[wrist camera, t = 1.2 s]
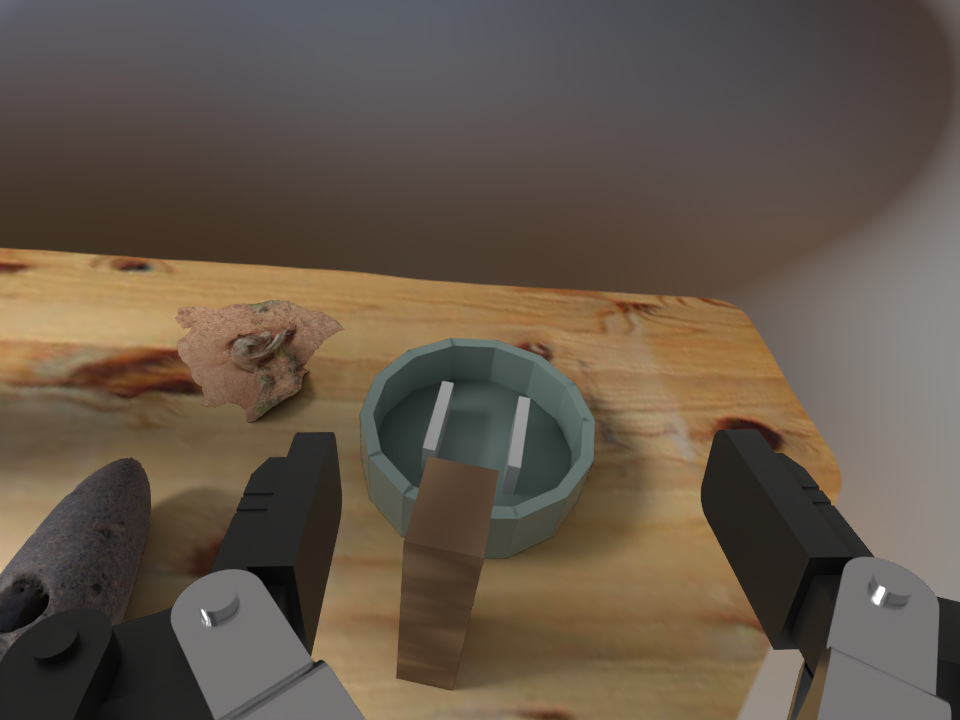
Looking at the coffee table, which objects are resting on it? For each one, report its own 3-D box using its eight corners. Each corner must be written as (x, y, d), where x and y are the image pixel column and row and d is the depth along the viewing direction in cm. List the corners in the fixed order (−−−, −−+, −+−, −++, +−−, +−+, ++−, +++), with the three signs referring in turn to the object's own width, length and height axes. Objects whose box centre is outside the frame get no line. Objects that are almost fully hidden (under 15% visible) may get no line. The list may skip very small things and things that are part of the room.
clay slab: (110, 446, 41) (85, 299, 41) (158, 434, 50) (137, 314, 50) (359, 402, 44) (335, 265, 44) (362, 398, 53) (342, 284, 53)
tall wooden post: (396, 678, 32) (403, 541, 23) (414, 605, 35) (427, 456, 26) (452, 690, 32) (483, 558, 23) (465, 616, 35) (499, 470, 25)
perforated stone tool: (110, 491, 38) (71, 418, 34) (196, 498, 39) (170, 427, 34) (-45, 775, 27) (-134, 727, 23) (77, 782, 28) (15, 736, 23)
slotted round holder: (331, 533, 38) (327, 491, 35) (396, 363, 49) (397, 320, 46) (573, 583, 37) (590, 546, 34) (583, 400, 48) (597, 359, 45)
